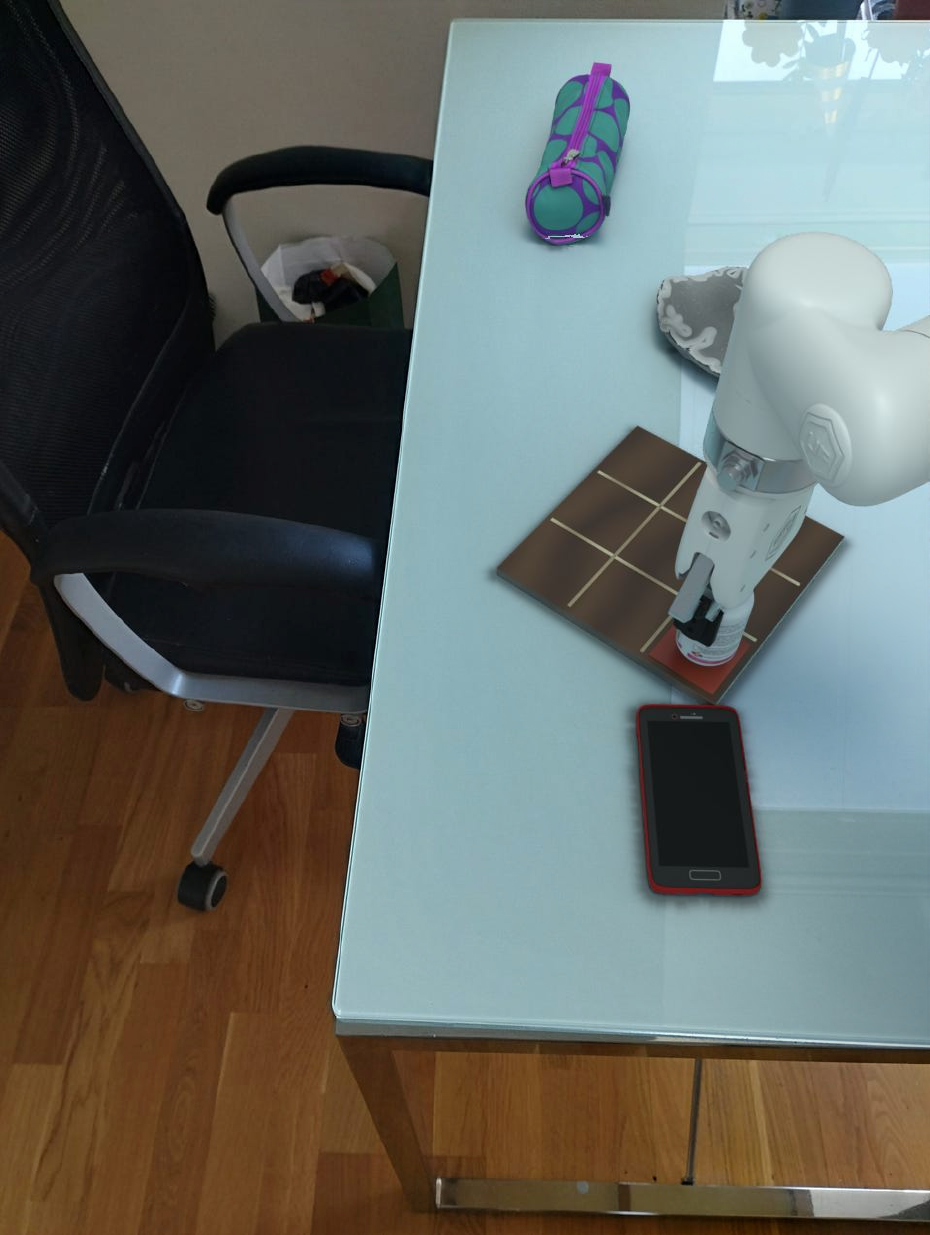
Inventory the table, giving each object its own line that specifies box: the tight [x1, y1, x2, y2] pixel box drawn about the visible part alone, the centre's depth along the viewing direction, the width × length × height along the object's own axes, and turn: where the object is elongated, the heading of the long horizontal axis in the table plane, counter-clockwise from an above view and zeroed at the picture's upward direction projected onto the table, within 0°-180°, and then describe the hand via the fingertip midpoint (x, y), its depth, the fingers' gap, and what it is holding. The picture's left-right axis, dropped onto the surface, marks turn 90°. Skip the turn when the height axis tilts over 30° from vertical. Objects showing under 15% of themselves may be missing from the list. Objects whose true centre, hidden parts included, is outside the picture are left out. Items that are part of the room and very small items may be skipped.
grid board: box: [496, 425, 845, 705], centre depth 89 cm, size 21×21×1 cm
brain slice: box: [656, 266, 749, 379], centre depth 103 cm, size 20×17×3 cm
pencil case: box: [524, 61, 631, 246], centre depth 115 cm, size 21×9×10 cm, turn 168°
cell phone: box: [635, 703, 763, 897], centre depth 76 cm, size 8×15×1 cm, turn 179°
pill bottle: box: [676, 587, 754, 666], centre depth 78 cm, size 5×5×8 cm
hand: (713, 608), depth 78 cm, fingers closed on pill bottle, 4 cm apart
